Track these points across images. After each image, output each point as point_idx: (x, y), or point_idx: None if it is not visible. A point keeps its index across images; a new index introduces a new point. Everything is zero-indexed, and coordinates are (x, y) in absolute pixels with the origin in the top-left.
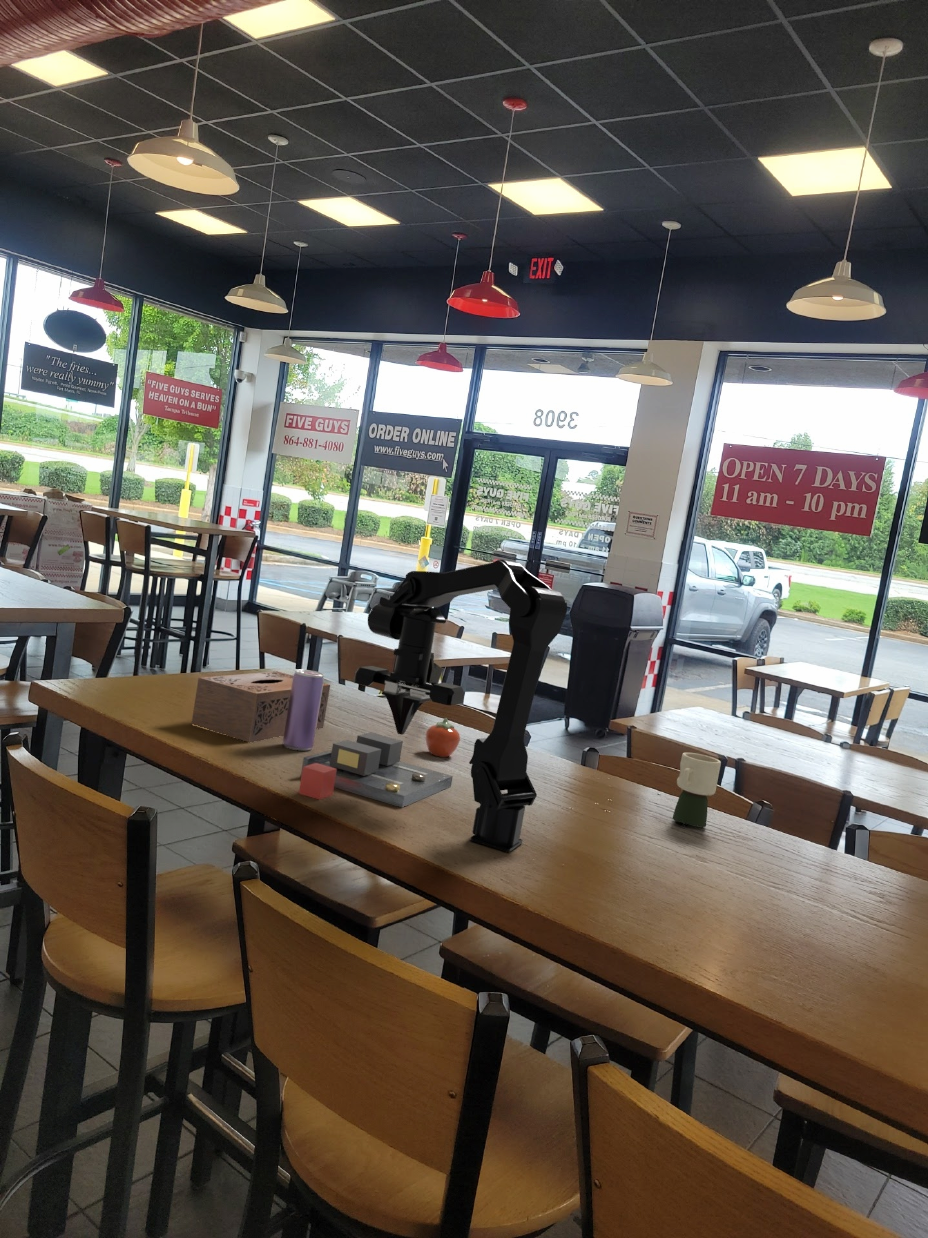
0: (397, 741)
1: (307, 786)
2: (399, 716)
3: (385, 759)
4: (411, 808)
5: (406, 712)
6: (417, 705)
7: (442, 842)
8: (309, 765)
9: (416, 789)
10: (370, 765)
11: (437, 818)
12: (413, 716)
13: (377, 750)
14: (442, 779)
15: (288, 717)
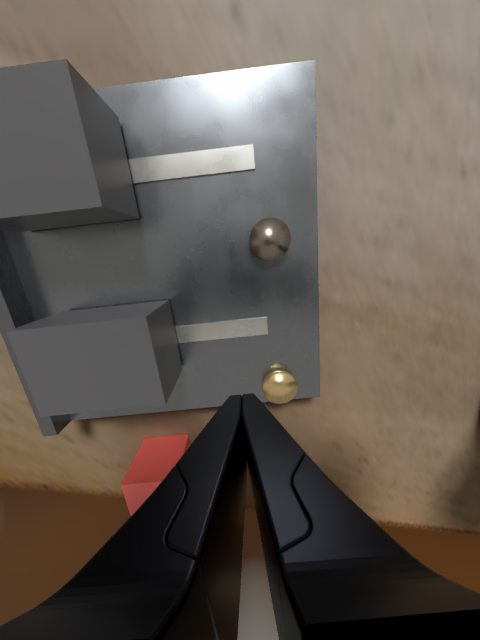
0: (66, 107)
1: None
2: (241, 536)
3: (122, 216)
4: (325, 367)
5: (328, 631)
6: (402, 620)
7: (442, 463)
8: (131, 509)
9: (313, 329)
10: (171, 355)
11: (390, 373)
12: (310, 461)
13: (152, 344)
14: (312, 153)
15: None
